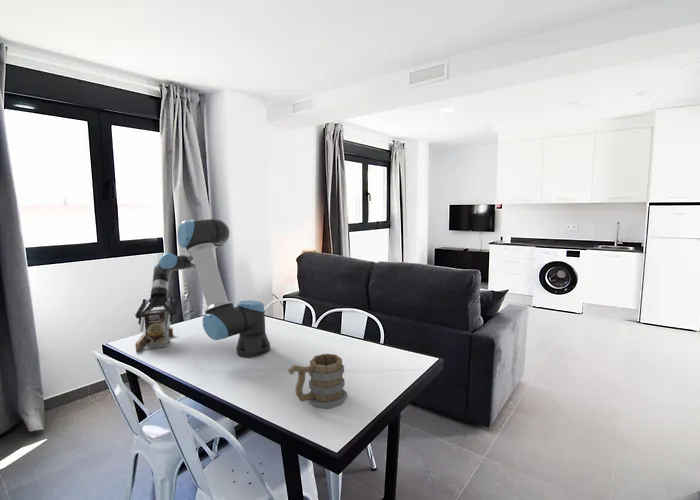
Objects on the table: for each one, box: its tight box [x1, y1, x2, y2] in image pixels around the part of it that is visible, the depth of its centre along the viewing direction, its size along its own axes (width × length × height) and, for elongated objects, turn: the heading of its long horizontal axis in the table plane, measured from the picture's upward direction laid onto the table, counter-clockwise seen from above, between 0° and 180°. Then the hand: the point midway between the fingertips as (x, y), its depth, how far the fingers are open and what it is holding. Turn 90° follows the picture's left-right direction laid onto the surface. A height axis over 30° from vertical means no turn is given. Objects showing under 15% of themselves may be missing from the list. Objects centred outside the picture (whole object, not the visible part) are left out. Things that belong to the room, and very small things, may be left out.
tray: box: [134, 327, 174, 353], centre depth 181 cm, size 19×12×4 cm
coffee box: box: [144, 308, 170, 346], centre depth 179 cm, size 9×6×16 cm
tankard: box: [287, 353, 348, 410], centre depth 124 cm, size 20×13×15 cm, turn 118°
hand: (155, 329), depth 176 cm, fingers open, 11 cm apart
